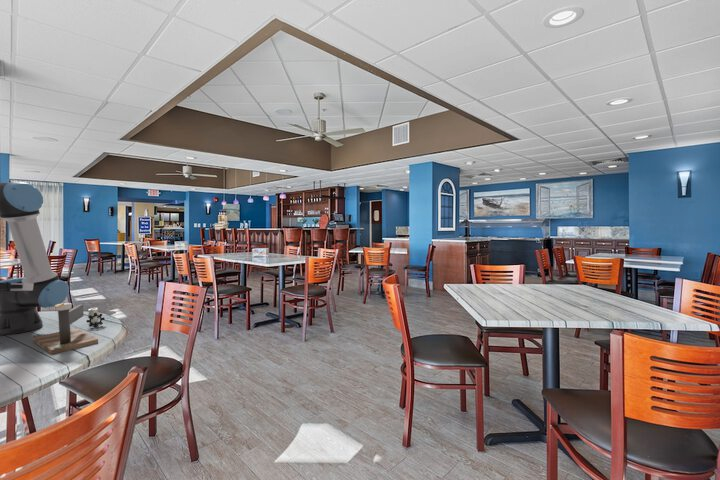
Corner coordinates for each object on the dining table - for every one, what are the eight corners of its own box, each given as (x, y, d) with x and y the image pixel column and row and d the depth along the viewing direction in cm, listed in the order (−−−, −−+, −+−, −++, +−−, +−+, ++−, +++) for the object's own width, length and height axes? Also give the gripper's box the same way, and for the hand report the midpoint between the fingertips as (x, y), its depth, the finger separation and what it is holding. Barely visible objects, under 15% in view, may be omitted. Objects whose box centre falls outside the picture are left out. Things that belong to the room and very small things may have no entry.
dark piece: (75, 330, 145) (73, 295, 144) (89, 328, 146) (87, 294, 145) (50, 347, 124) (47, 307, 123) (66, 346, 126) (64, 306, 125)
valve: (84, 323, 160) (86, 328, 152) (83, 309, 160) (86, 314, 151) (101, 320, 165) (105, 325, 156) (101, 306, 165) (104, 311, 156)
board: (33, 341, 136) (33, 336, 136) (77, 331, 148) (76, 327, 148) (52, 354, 122) (51, 349, 122) (98, 342, 134) (98, 338, 134)
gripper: (-70, 299, 114) (24, 297, 134) (-58, 296, 108) (39, 295, 128) (-67, 277, 115) (26, 278, 136) (-54, 273, 109) (40, 275, 130)
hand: (32, 287), depth 132 cm, fingers closed
